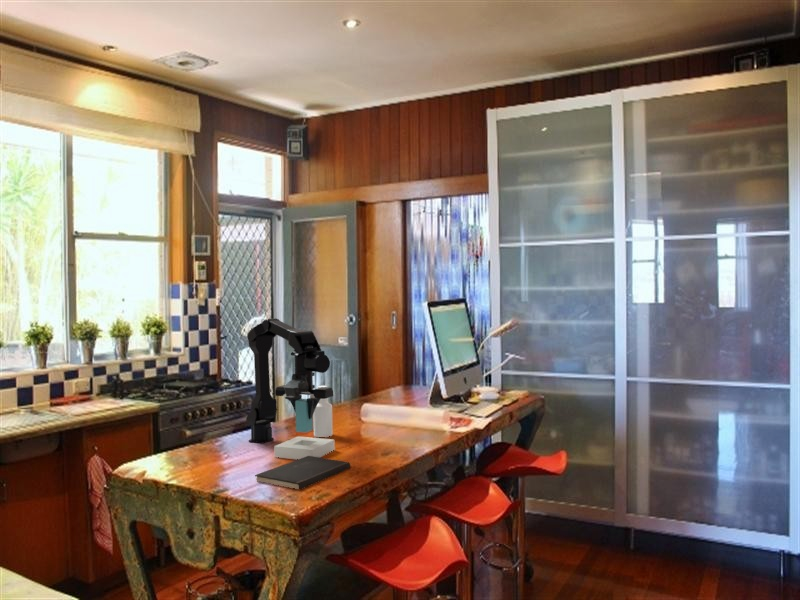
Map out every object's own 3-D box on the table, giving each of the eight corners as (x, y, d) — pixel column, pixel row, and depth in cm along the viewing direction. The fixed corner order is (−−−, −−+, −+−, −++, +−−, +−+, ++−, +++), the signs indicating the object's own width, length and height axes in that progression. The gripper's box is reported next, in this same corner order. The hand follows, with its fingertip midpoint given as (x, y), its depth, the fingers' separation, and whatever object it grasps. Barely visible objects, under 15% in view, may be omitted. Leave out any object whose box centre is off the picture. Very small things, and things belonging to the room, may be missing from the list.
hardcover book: (255, 483, 176) (254, 474, 176) (308, 463, 195) (308, 455, 195) (299, 492, 168) (299, 483, 167) (350, 470, 187) (350, 462, 187)
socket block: (274, 457, 201) (274, 446, 201) (298, 446, 214) (297, 436, 214) (312, 461, 195) (312, 449, 195) (334, 450, 208) (334, 439, 208)
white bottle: (334, 433, 232) (333, 384, 232) (330, 438, 226) (329, 387, 225) (316, 433, 233) (315, 384, 233) (311, 437, 226) (310, 387, 226)
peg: (295, 431, 203) (295, 400, 203) (302, 429, 207) (301, 398, 207) (306, 432, 202) (306, 401, 202) (312, 429, 205) (312, 399, 205)
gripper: (264, 372, 200) (265, 421, 201) (316, 374, 193) (316, 425, 193) (284, 367, 210) (285, 414, 211) (333, 370, 203) (334, 418, 204)
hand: (304, 418), depth 204 cm, fingers closed on peg, 4 cm apart
